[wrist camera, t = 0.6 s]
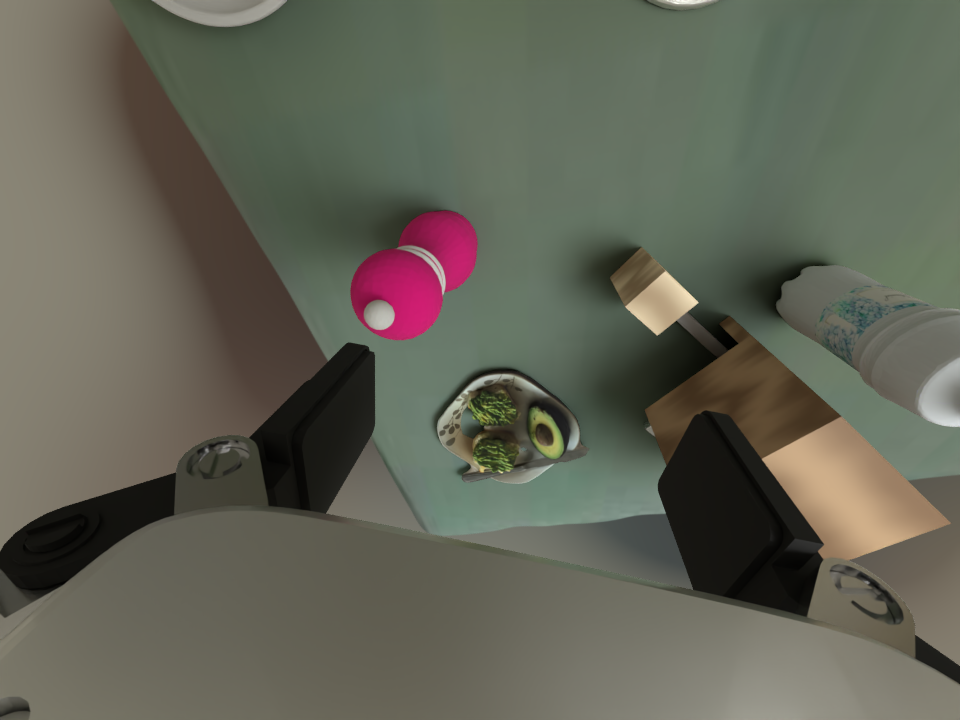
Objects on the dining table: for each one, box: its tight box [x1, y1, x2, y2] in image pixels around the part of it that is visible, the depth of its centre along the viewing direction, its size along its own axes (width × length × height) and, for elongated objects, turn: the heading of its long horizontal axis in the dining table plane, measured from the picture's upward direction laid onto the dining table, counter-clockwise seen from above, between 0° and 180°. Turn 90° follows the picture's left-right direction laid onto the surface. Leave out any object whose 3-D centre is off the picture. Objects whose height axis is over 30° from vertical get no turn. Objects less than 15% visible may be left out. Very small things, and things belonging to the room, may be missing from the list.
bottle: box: [776, 265, 960, 427], centre depth 27 cm, size 7×7×20 cm
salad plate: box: [437, 370, 589, 483], centre depth 49 cm, size 19×18×5 cm
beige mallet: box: [610, 247, 729, 358], centre depth 36 cm, size 4×23×8 cm, turn 52°
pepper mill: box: [351, 211, 477, 340], centre depth 30 cm, size 7×7×20 cm
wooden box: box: [645, 316, 950, 561], centre depth 36 cm, size 13×14×16 cm
